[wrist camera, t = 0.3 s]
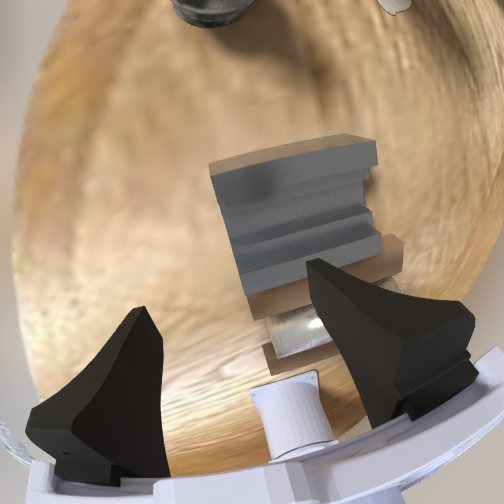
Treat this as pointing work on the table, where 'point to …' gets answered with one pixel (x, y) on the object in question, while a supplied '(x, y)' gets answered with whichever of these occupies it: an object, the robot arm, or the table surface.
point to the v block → (296, 208)
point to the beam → (299, 296)
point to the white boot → (395, 5)
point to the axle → (306, 326)
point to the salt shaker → (211, 11)
